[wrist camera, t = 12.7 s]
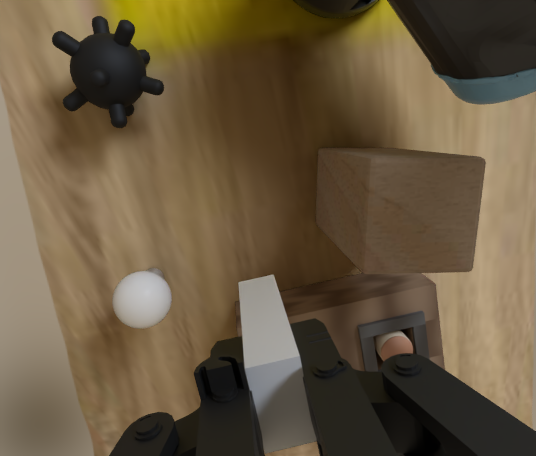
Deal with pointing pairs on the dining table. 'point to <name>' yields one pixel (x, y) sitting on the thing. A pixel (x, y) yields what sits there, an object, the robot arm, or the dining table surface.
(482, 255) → the dining table surface
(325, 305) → the socket block
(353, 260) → the wooden block
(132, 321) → the lightbulb
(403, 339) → the peg
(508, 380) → the dining table surface
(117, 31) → the toy ball
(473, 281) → the dining table surface
